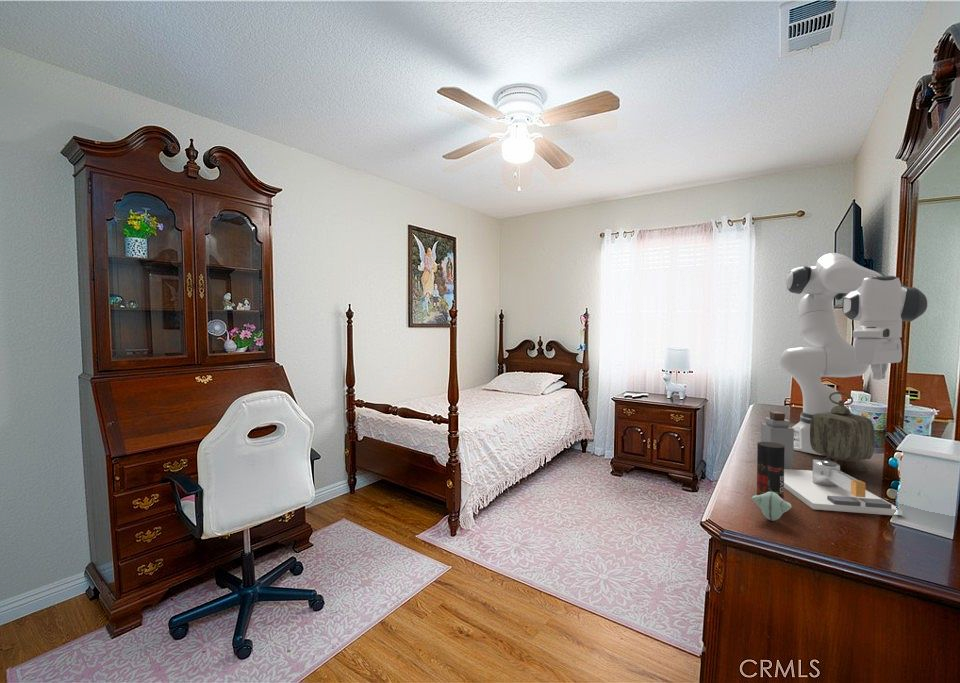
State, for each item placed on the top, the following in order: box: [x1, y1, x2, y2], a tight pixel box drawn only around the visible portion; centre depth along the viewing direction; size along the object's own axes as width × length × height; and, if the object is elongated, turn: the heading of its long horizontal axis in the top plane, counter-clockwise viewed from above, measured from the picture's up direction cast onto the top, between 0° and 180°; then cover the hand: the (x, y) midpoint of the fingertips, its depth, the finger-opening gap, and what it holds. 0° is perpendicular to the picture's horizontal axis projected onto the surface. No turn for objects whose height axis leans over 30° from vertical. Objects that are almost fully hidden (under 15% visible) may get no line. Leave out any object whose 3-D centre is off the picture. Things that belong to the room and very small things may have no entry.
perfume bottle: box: [760, 411, 795, 470], centre depth 139 cm, size 7×7×18 cm
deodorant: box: [756, 441, 785, 501], centre depth 111 cm, size 6×6×15 cm
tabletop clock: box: [810, 391, 876, 473], centre depth 137 cm, size 14×9×25 cm, turn 17°
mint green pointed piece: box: [751, 492, 792, 522], centre depth 100 cm, size 8×4×7 cm, turn 47°
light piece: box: [811, 459, 867, 497], centre depth 114 cm, size 20×6×6 cm, turn 168°
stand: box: [784, 469, 897, 516], centre depth 118 cm, size 28×19×3 cm
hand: (879, 379), depth 121 cm, fingers closed
